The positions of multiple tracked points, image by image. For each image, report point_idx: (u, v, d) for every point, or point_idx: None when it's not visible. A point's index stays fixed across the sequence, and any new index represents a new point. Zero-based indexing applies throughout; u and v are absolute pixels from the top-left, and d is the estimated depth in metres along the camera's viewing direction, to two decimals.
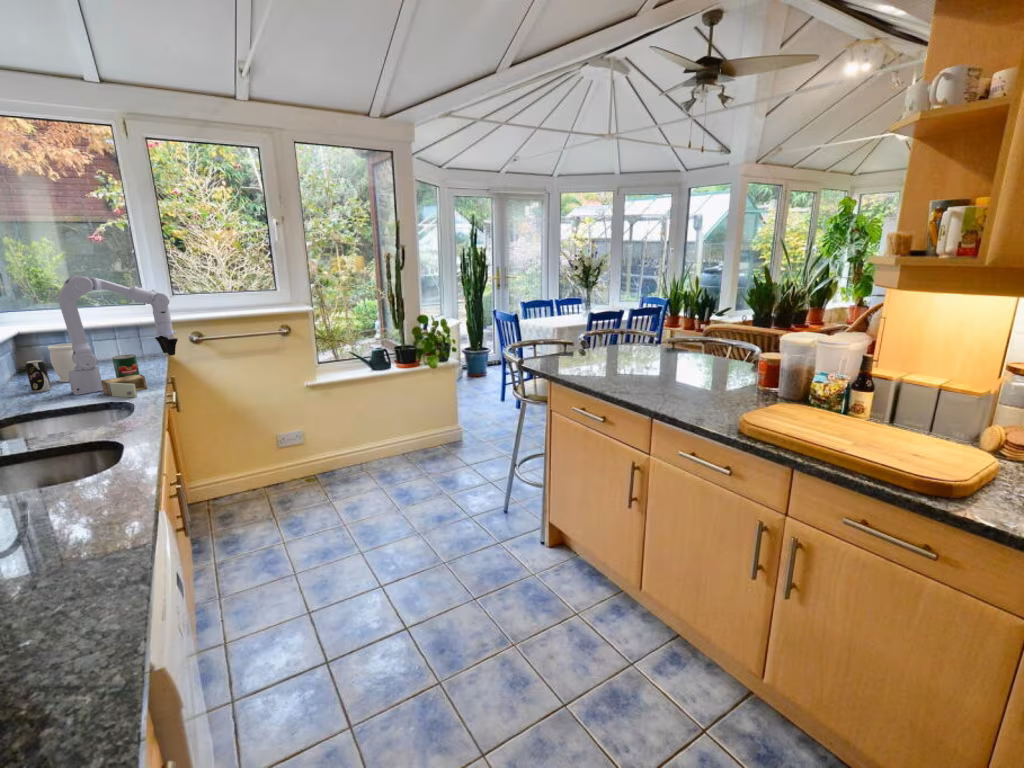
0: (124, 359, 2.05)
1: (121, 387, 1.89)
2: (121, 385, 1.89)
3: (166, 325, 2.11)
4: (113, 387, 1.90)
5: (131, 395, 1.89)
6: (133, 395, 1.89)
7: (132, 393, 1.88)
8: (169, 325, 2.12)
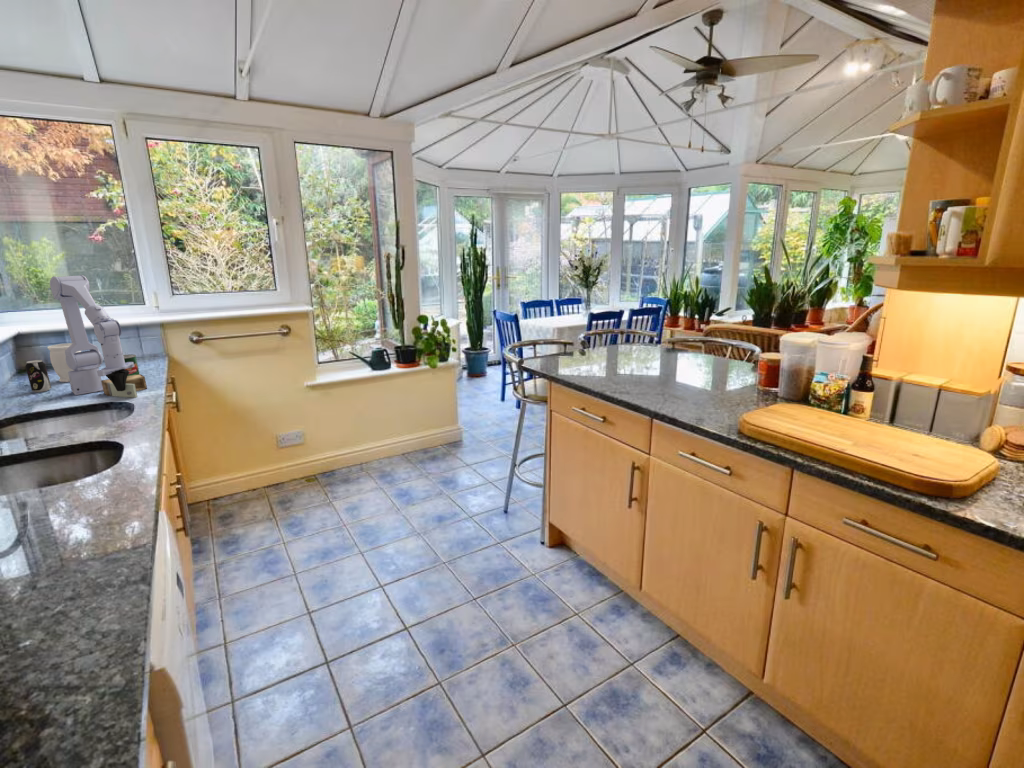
0: (124, 359, 2.05)
1: None
2: None
3: (109, 358, 1.82)
4: (113, 387, 1.90)
5: (131, 395, 1.89)
6: (133, 395, 1.89)
7: (132, 393, 1.88)
8: (112, 359, 1.82)
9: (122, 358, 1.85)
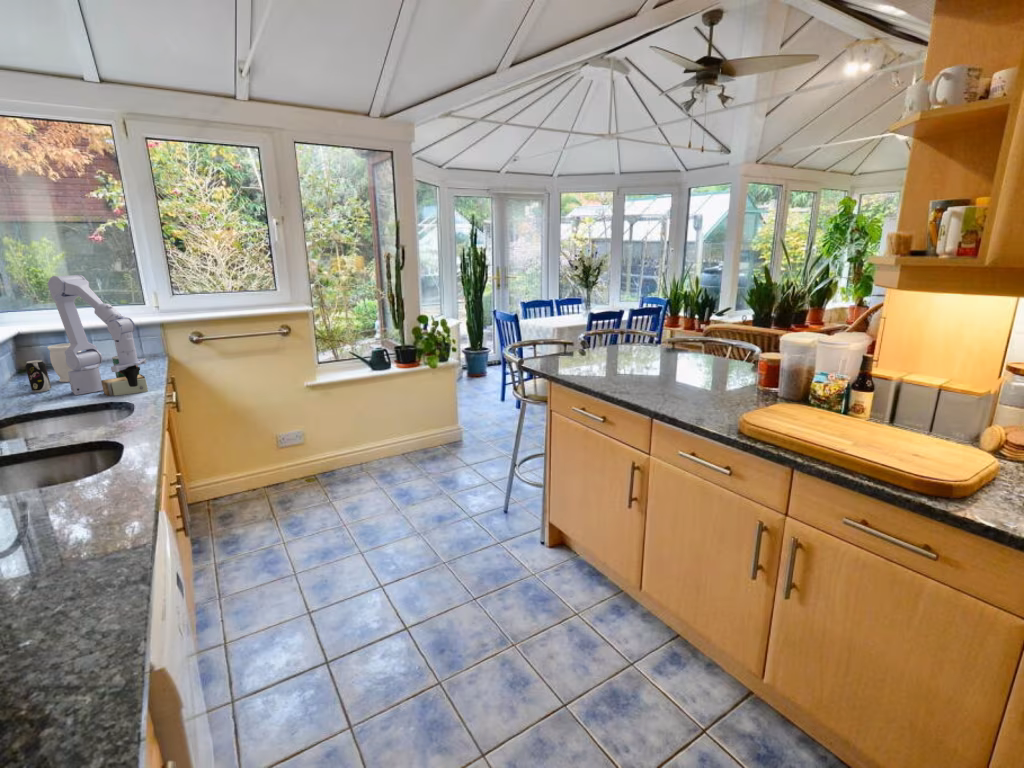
0: None
1: (128, 384, 1.93)
2: None
3: (123, 355, 1.87)
4: (116, 386, 1.91)
5: (142, 390, 1.96)
6: (145, 389, 1.96)
7: (144, 387, 1.96)
8: (125, 355, 1.87)
9: (135, 354, 1.90)
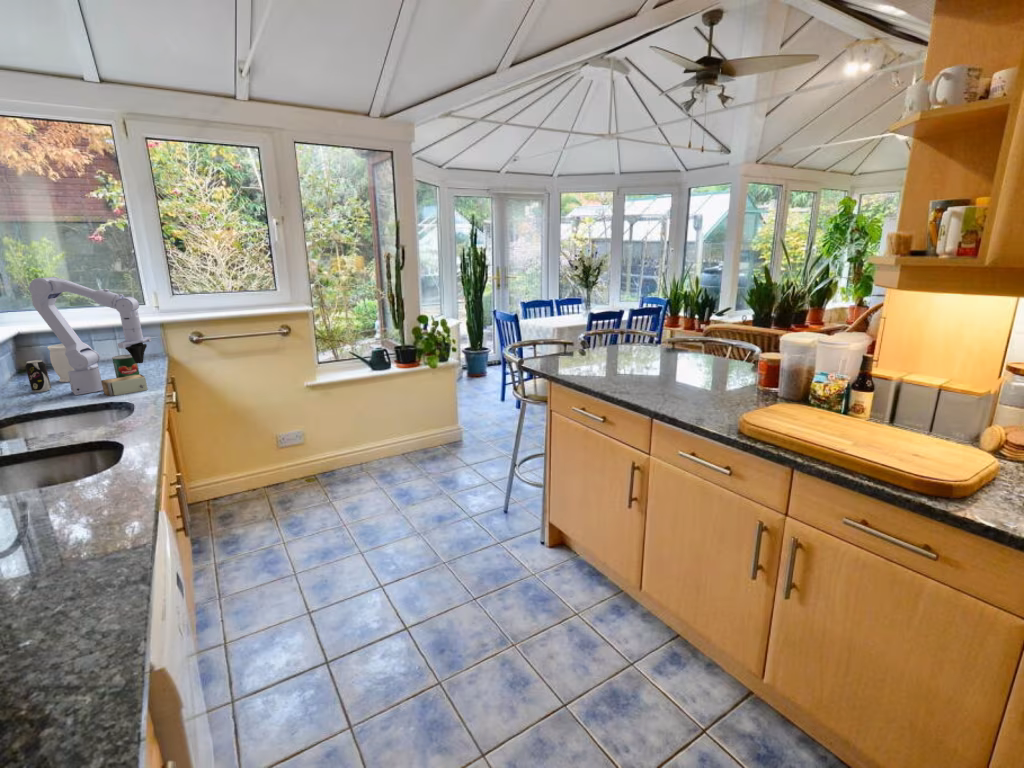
0: (124, 359, 2.05)
1: (128, 384, 1.94)
2: (129, 381, 1.94)
3: (129, 332, 1.94)
4: (117, 385, 1.92)
5: (142, 388, 1.98)
6: (145, 388, 1.98)
7: (143, 386, 1.98)
8: (131, 333, 1.94)
9: (140, 332, 1.97)
